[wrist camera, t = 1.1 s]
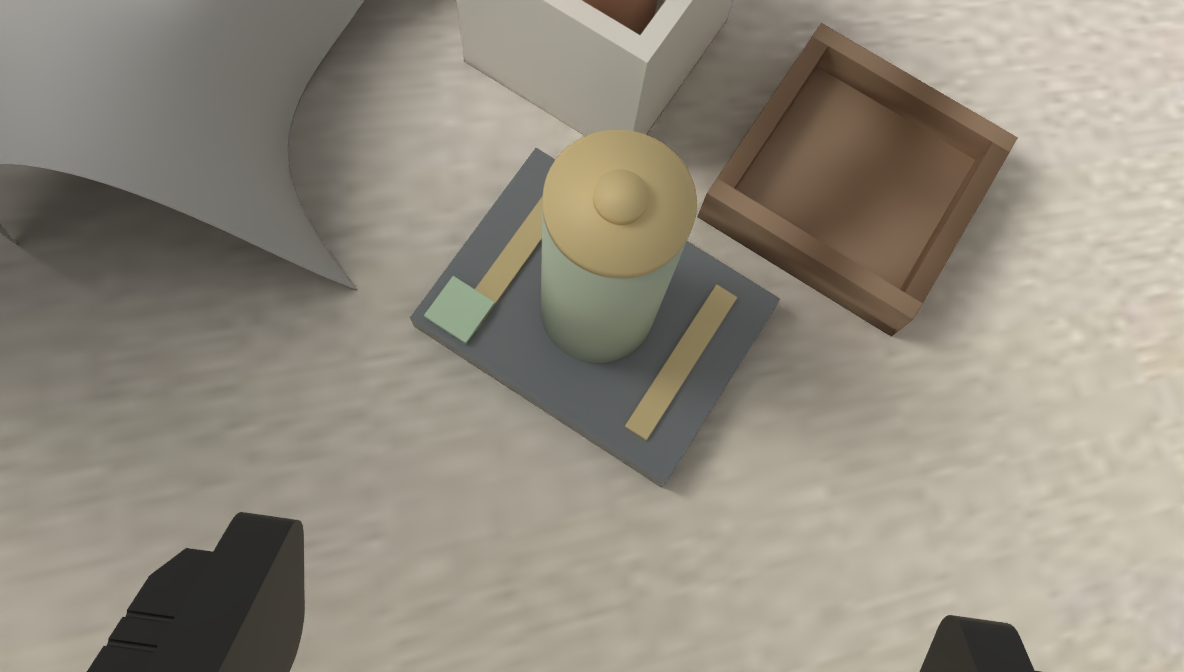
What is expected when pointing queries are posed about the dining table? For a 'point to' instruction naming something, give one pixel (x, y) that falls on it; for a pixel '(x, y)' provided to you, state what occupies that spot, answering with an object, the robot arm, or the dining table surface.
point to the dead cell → (627, 12)
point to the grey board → (580, 389)
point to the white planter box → (589, 56)
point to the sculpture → (172, 104)
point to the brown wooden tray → (857, 180)
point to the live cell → (611, 241)
